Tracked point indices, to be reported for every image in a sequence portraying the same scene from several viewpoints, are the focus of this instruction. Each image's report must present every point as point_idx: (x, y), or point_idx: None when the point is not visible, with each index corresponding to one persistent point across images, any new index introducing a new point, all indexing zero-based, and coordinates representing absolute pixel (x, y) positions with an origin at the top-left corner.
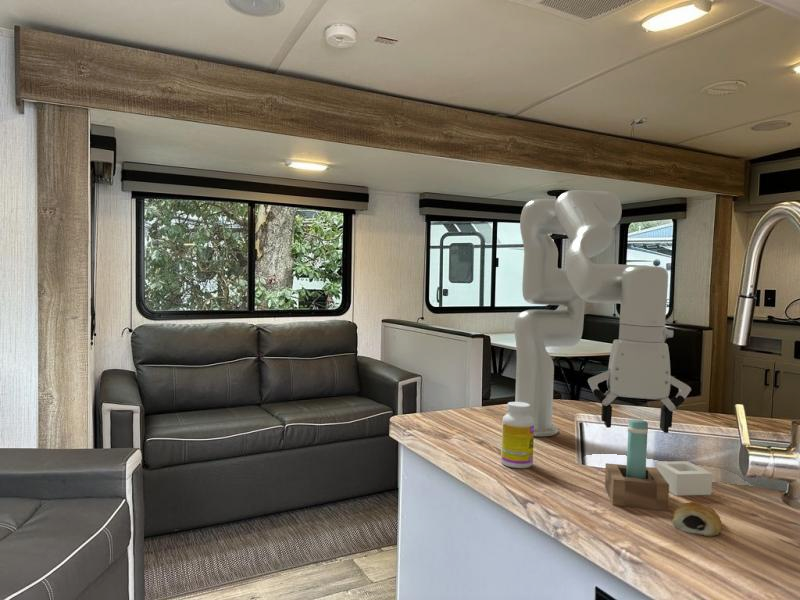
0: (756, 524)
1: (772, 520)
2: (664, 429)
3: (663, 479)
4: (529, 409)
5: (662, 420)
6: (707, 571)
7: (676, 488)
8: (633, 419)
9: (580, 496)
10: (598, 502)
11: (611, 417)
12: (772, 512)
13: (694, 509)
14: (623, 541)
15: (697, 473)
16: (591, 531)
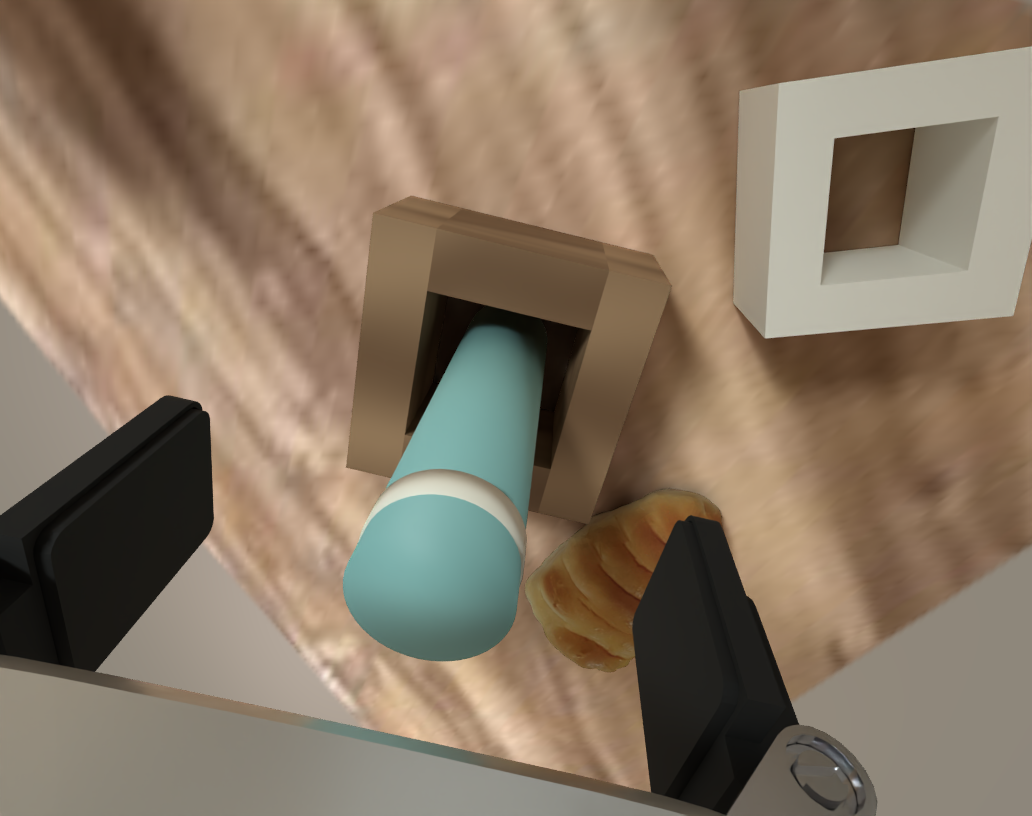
0: (855, 558)
1: (958, 531)
2: (638, 641)
3: (600, 464)
4: None
5: (666, 644)
6: (491, 748)
7: (741, 311)
8: (409, 536)
9: (268, 328)
10: (332, 388)
11: (158, 593)
12: None
13: (581, 656)
14: (340, 638)
15: (909, 319)
16: (262, 589)
